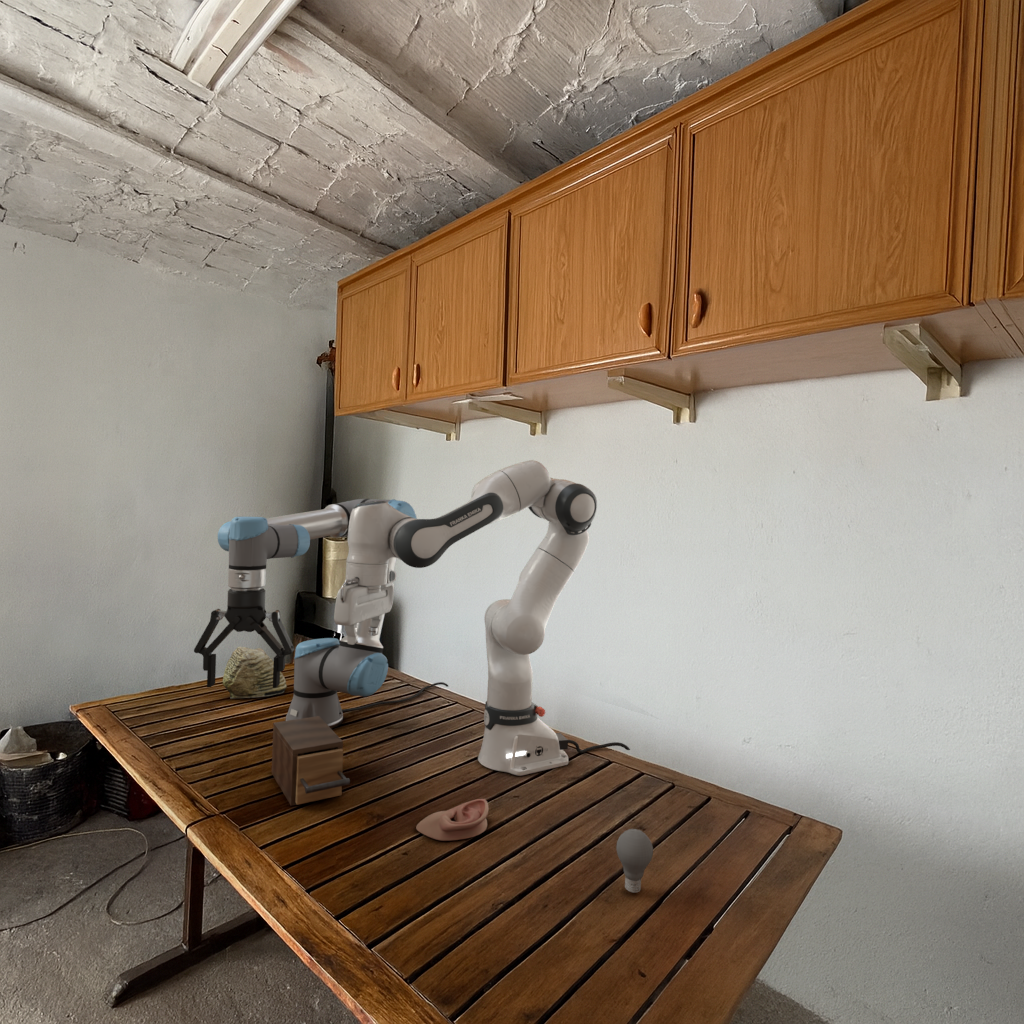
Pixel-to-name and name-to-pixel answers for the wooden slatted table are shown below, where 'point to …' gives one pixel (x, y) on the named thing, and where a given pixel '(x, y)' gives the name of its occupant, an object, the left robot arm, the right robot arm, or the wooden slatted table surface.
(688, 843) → the wooden slatted table surface
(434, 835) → the anatomical model
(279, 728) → the cabinet
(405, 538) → the right robot arm
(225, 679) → the fossil
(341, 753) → the drawer
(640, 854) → the light bulb
